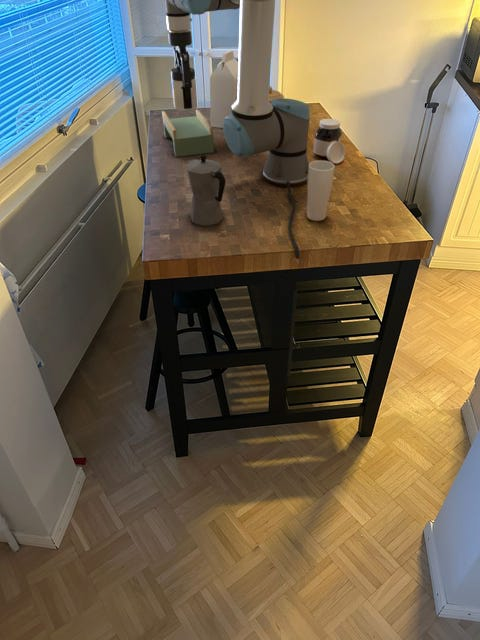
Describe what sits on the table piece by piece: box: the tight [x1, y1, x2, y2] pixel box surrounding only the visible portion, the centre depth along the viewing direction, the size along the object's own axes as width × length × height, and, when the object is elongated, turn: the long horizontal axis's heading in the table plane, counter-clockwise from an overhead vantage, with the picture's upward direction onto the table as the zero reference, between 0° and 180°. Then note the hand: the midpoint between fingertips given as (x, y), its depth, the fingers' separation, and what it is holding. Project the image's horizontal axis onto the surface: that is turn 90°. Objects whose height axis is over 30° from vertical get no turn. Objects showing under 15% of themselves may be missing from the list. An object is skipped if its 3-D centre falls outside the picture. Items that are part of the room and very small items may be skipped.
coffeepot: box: [185, 154, 226, 227], centre depth 126 cm, size 15×9×18 cm, turn 39°
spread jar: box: [313, 118, 346, 164], centre depth 161 cm, size 12×11×12 cm
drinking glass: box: [306, 160, 335, 222], centre depth 128 cm, size 7×7×15 cm
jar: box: [170, 67, 198, 112], centre depth 164 cm, size 9×8×12 cm
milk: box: [209, 49, 238, 129], centre depth 185 cm, size 12×12×26 cm
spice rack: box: [161, 108, 215, 158], centre depth 174 cm, size 22×14×9 cm, turn 17°
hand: (185, 104), depth 168 cm, fingers closed on jar, 9 cm apart
